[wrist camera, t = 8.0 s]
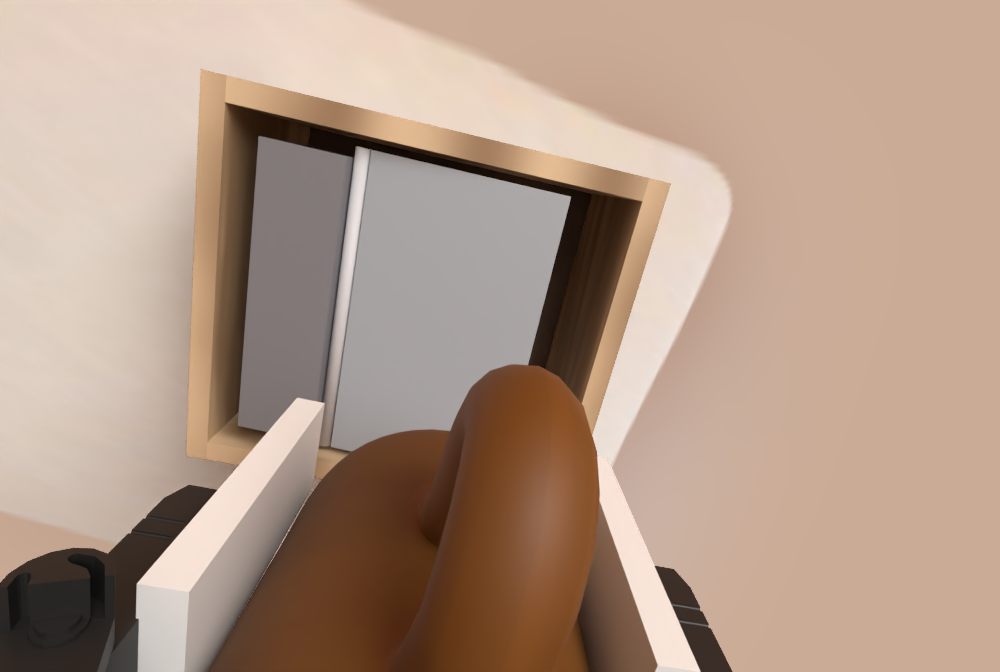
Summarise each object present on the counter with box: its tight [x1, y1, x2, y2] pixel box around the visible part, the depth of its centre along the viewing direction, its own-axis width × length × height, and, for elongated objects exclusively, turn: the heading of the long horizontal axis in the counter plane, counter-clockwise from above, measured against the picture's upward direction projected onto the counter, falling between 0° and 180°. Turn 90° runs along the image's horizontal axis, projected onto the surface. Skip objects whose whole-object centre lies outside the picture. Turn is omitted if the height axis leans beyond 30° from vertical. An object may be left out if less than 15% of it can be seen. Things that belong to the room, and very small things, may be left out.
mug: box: [208, 364, 600, 672], centre depth 10 cm, size 12×8×9 cm, turn 163°
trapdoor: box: [238, 136, 571, 451], centre depth 25 cm, size 14×15×4 cm
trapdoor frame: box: [186, 69, 671, 479], centre depth 28 cm, size 20×18×10 cm
